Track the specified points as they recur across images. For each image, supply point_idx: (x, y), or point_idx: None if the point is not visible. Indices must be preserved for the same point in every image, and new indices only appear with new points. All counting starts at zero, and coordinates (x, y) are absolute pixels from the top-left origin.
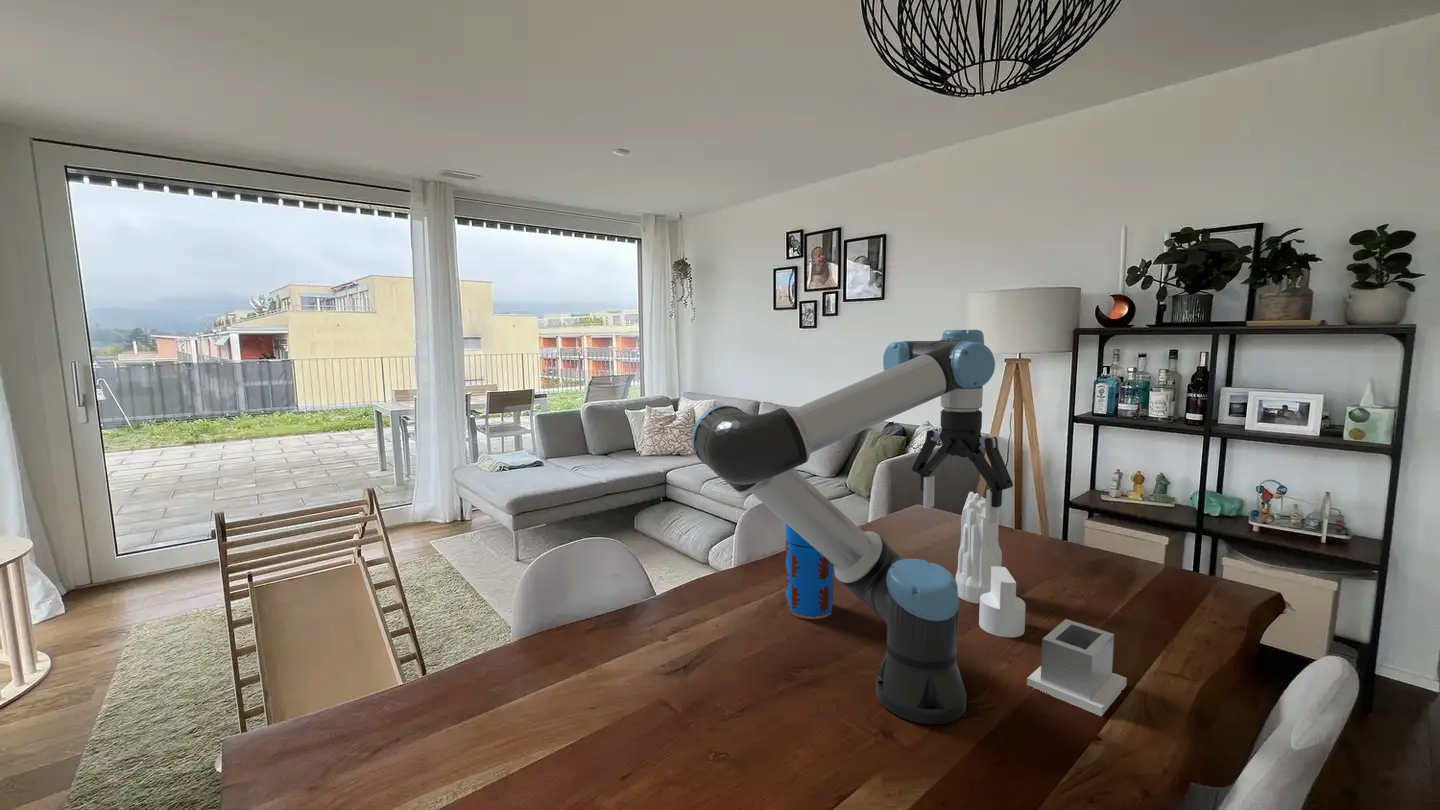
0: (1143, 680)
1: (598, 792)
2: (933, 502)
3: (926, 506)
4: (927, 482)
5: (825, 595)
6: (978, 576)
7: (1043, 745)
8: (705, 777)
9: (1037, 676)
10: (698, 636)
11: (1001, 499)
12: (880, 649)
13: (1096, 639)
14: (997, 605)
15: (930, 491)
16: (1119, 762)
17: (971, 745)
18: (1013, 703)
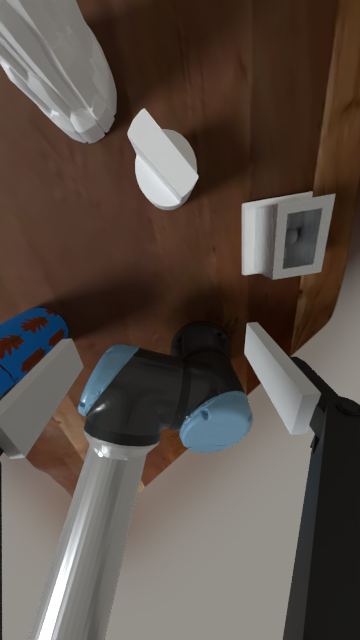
0: (320, 161)
1: (166, 465)
2: (66, 347)
3: (80, 370)
4: (36, 434)
5: (55, 339)
6: (81, 102)
7: (275, 325)
8: (181, 442)
9: (249, 265)
10: (62, 407)
11: (315, 374)
12: (137, 325)
13: (319, 229)
14: (171, 194)
15: (51, 388)
16: (315, 303)
17: (245, 356)
18: (244, 303)
